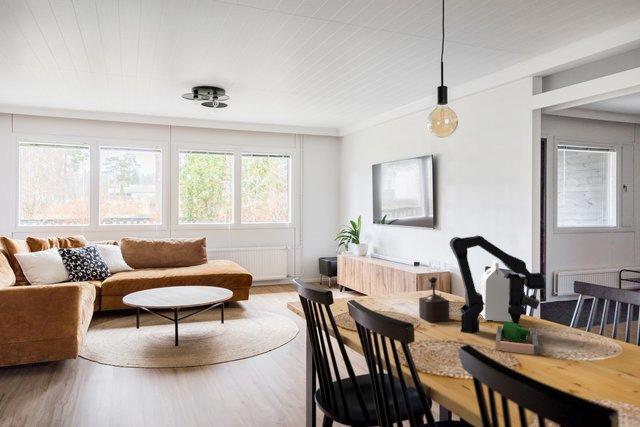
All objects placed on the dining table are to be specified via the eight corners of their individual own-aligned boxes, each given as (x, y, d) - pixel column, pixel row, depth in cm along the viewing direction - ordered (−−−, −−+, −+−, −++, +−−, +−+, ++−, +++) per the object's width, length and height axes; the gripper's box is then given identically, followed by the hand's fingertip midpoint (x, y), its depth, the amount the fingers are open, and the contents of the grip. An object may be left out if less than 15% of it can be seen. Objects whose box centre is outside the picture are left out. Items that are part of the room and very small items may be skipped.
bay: (495, 349, 165) (495, 341, 165) (497, 332, 186) (497, 325, 186) (538, 354, 159) (538, 346, 159) (535, 336, 181) (535, 329, 181)
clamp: (523, 353, 175) (533, 334, 171) (508, 349, 174) (518, 331, 171) (514, 333, 186) (523, 315, 182) (499, 329, 185) (508, 311, 182)
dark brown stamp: (451, 321, 205) (451, 281, 205) (429, 322, 203) (429, 282, 202) (434, 313, 221) (435, 276, 220) (413, 314, 218) (413, 277, 217)
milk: (511, 321, 204) (512, 263, 204) (484, 320, 206) (485, 263, 206) (505, 315, 216) (505, 260, 216) (479, 314, 218) (480, 260, 217)
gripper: (539, 294, 176) (539, 334, 176) (537, 286, 193) (537, 323, 194) (508, 292, 180) (508, 331, 181) (508, 284, 198) (508, 320, 198)
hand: (516, 326), depth 188 cm, fingers closed
